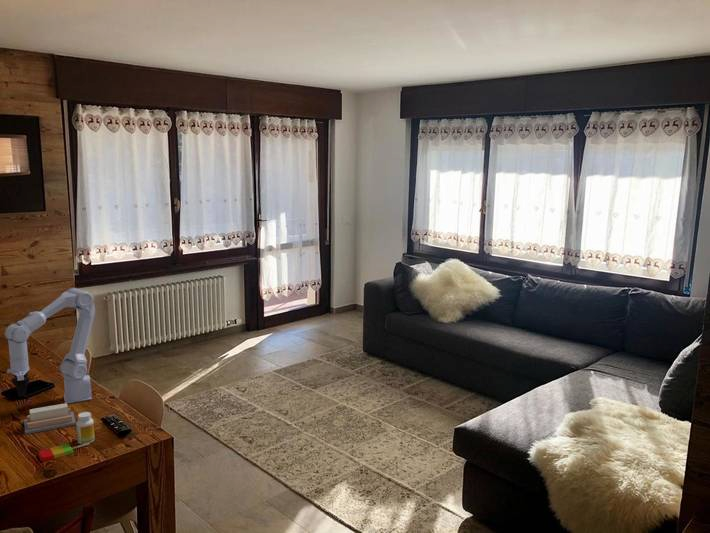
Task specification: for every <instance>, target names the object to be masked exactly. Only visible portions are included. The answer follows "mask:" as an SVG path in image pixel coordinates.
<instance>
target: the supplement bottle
mask: <svg viewBox="0 0 710 533" xmlns="http://www.w3.org/2000/svg"><path fill="white" fill-rule="evenodd" d="M77 419H78V420H76V425H75V426H76V438H77V439H76V440H77V443H78V444H79V445H82V444H86V443H89V444H91V443H92V442H94V441H95V436H96V435H95V426H94V424H95V422H94V419H93V418H92V413H91V412H90V411H83V412H80V413H78V415H77Z"/></svg>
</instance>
